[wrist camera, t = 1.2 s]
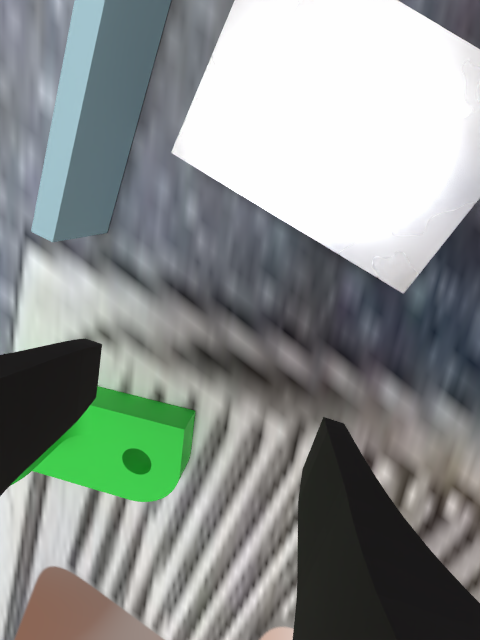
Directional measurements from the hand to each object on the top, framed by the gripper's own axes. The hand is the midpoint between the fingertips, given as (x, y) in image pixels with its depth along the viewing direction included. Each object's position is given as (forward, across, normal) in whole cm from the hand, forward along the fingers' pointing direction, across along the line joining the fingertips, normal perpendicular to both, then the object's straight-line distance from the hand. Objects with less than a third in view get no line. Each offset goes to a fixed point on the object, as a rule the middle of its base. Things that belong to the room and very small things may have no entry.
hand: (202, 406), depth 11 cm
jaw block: (+8, -2, -9) cm, 12 cm away
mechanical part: (+8, +7, +10) cm, 15 cm away
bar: (+8, +6, -15) cm, 18 cm away
